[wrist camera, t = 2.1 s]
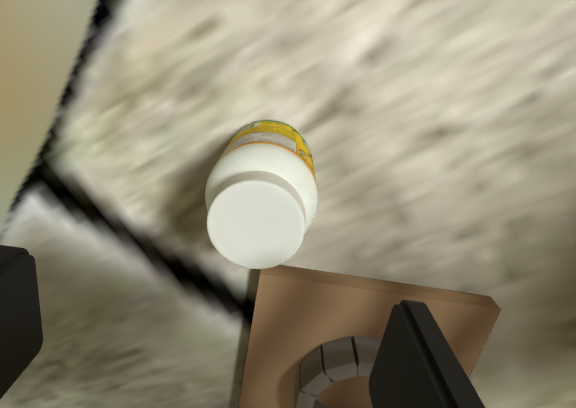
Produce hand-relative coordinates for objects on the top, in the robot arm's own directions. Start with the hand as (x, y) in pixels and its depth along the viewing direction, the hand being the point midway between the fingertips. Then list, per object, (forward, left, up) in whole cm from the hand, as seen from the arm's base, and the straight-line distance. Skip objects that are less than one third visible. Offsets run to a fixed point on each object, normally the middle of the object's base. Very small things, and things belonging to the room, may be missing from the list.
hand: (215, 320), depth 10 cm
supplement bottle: (-1, 0, -15) cm, 15 cm away
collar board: (-10, +16, -15) cm, 24 cm away
